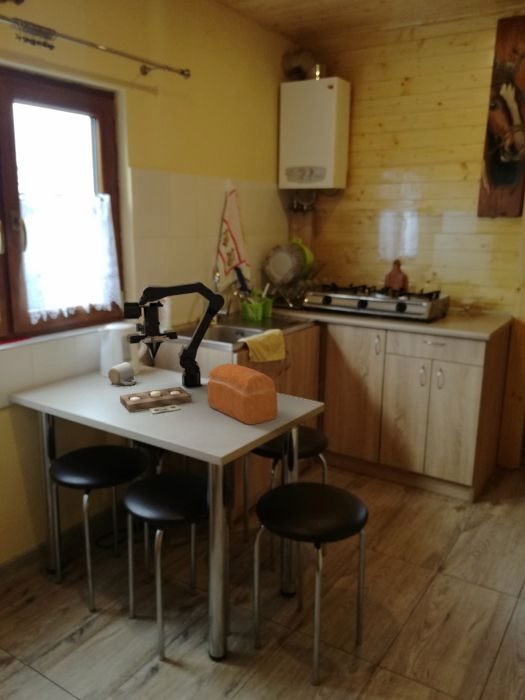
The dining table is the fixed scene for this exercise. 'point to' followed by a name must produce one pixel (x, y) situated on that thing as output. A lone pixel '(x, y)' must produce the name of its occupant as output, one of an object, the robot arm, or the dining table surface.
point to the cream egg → (134, 398)
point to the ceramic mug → (122, 374)
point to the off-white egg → (155, 394)
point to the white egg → (174, 392)
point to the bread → (242, 393)
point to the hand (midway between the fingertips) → (153, 358)
